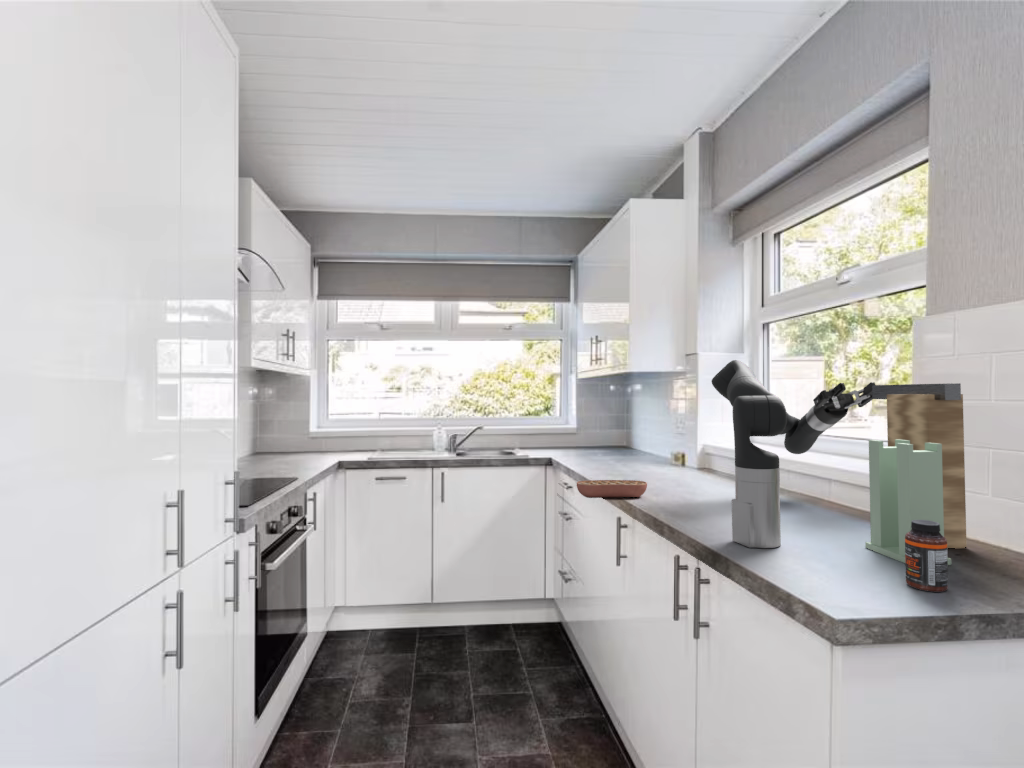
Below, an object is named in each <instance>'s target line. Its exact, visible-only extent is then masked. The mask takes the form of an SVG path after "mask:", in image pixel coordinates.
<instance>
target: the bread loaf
mask: <svg viewBox="0 0 1024 768" xmlns="http://www.w3.org/2000/svg"><path fill="white" fill-rule="evenodd" d="M576 488H577V491H578V492H579V494H581V496H582V497H585V498H588V499H597V498H598V499H600V498H604V499H605V498H609V499H610V498H611V499H612V498H613V499H614V498H616V499H617V498H622V497H637V498H639V497H642V495H644V494H645V492H646V491H647V489H648V482H646V481H643V480H636V479H634V480H633V479H632V480H631V479H629V480H628V479H602V480H601V479H600V480H599V479H596V480H589V479H588V480H579V481H577V482H576Z"/></svg>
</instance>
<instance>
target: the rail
mask: <svg viewBox="0 0 1024 768" xmlns="http://www.w3.org/2000/svg"><path fill="white" fill-rule="evenodd" d="M961 389H962V387H961V382H960V383H922V384H921V383H918V384H917V383H915V384H914V383H913V384H911V383H910V384H875V385H872V399H873V400H887V395H888V394H934V396H935V400H961V394H962V391H961Z"/></svg>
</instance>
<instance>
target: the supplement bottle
mask: <svg viewBox="0 0 1024 768" xmlns="http://www.w3.org/2000/svg"><path fill="white" fill-rule="evenodd" d="M911 528H912V529H911V531H910V532H908V533H907V534H906V535H905V563H904V564H905V565H904V567H905V568H904V569H905V571H904V573H905V582H906V584H907V585H908V586H910V587H911V588H914V589H917V590H918V591H919V590H920V591H923V590H924V591H925V592H929V591H930V592H931V593H942V592H946V591H947V590H948V588H949V573H948V572H949V569H948V567H949V565H948V558H949V557H948V549H947V540H946V538H945V537H944V536H942V535H941V534H940V532H939V531H940V524H939V523H937V522H934V521H929V520H912V521H911Z"/></svg>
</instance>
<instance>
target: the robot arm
mask: <svg viewBox="0 0 1024 768" xmlns="http://www.w3.org/2000/svg"><path fill="white" fill-rule="evenodd" d="M711 384H712V387H714V388H713V389H715V390H716V392H717V393H719V394H720V395H721V396H722V397H723V398H725V399H726V400H727V401H729V403H730V406H731V407H732V424H733V426H732V427H733V437H734V439H733V440H734V471H735V472H734V478H735V480H734V481H735V482H734V485H735V486H734V489H735V498H732V499H731V534H732V536H731V537H732V540H731V541H732V542H734V543H738V544H740V545H742V546H745V547H747V548H759V549H774V548H777V547H778V548H779V547H780V546H781V545H782V538H781V537H782V536H781V535H782V533H781V532H782V531H781V529H782V528H781V491H780V490H781V487H780V480H781V479H780V458H779V456H778V454H777V453H774V452H771V451H769V450H765V449H762V448H761V447H759V446H757V445H755V444H753V442H752V441H751V437H776V436H777V437H778V435H785V436H784V441H783V443H784V448H785V449H786V451H788V452H789V453H790V454H793V455H801V454H804V453H806V452H808V451H809V450H810V449H811V448H812V447H813V446H814V444H815V443H816V441H817V440H818V438H819V436H820V435H822V434H823V433H824V432H826V431H827V430H828V429H831V428H833V426H835V424H837V423H838V422H840V421H841V420H842V419H844V418H845V417H846V415H847V414H848V411H849V409H850V408H852V407H853V406H858V408H863V407H864V406H866V405H867V404H869V403H870V402H871V401H873V400H874V399H872V385H876V383H875V382H873V381H871V382H868V384H867V385H865V386H864V387H863V388H862V389H858V390H856V389H855V390H852V391H850V392H847V393H844V392H845V391H846V390H847V389H846V385H845V383H844V382H839V383H838V384H836V385H835V387H833V388H830V389H828V391H827V390H825V389H824V390H822V391H820V392H819V393H818V395H816V396H815V398H814V399H813V406H811V408H810V409H809V410H808V412H806V413H805V414H804V415H803V416H802V417H801V418H797V417H795V416H793V415H790V414H789V413H788V412H787V410H786V407H785V404H784V402H783V401H782V399H781V398H780V397H779V396H777V395H776V394H774V393H772V392H770V391H769V390H768V389H767V388H766V387H765V386H764V385H763V383H762V382H761V381H760V380H759V379H758V378H757V375H755V373H754V372H753V370H752V369H751V367H749V365H747V364H746V363H744V362H743V361H742V360H738V359H733V360H731V361H729V362H728V363H727V364H725V366H724V367H722V369H721V370H720V371H718V372H717V373H716V374H715V375H714V376H713V377H712V379H711ZM853 395H854V396H855V399H854V396H853Z"/></svg>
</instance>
